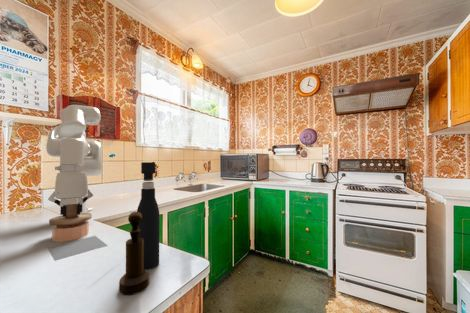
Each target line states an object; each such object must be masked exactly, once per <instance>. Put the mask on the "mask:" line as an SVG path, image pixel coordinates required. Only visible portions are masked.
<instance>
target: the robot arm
mask: <svg viewBox="0 0 470 313" xmlns="http://www.w3.org/2000/svg"><path fill="white" fill-rule="evenodd" d="M59 113H60V121H61V123H60V124H58V125H56V126H55V127H53V128H52V129H51V130H50V131H49V133H48V135H47V140H46V146H45V147H46V149H45V150H46V152H47V154H48V155H49V156H51V157H55V158H56V157H57V158H58V157H59V165H57V166H54V171H58V172H57V173H56V176H55V183H54V191H53V193H51V195H50V196H49V197H48V199H47V201H49V202H51V203H54V204H56V205H57V206H59V207H60V210H59V211H60V213H59V214H60V215H59V216H62V215H63V217H65V205H67V204H74V203H77V204H78V215H80V213H90V212H92V211H93V210H94V209H93V208H92V207H90V208H87V201H88V200H89V199H90V198H92V197H94V194H93V193H92V192H91V190H90V189H89V183H88V182H89V180H88V177H92V176H93V177H94V176H96V177H97V176H100V175H102V173H103V168H104V165H103V164H104V162H103V159H104V158H103V146H102V143H101V142H99V141H97V140H87V133H86V130H87V126H98V125H99V124H100V122H101V112H100V109H99V108H97V107H95V106H88V105H80V104H70V105H67V106H66V107H65V108H62V109H61V110H60V112H59Z"/></svg>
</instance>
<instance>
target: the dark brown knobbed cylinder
mask: <svg viewBox="0 0 470 313" xmlns="http://www.w3.org/2000/svg"><path fill="white" fill-rule="evenodd" d="M141 220H142V215H141V213H140V212H137V211H133V212H131V213H130V214H129V215H128V219H127V221H128V222H129V224H130V226H131V230H129V234H130V238H129V239H126V241H125V273H124V274H123V276H122V277H120V279H119V283H118V284H119V287H118V291H119V293H120V294H121V295H124V296H132V295H136V294H138V293H141V292H142V291H144V290H145V289H147V287H148V286H149V285H150V273H149V270H144V239H143V238H139V234H140V229H139V227H138V226H139V223H140V222H141Z"/></svg>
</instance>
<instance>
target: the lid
mask: <svg viewBox="0 0 470 313" xmlns="http://www.w3.org/2000/svg"><path fill="white" fill-rule="evenodd" d="M91 219H92V213H90V212H88V213H80V215H78V204H77V203H74V204H67V205H65V217H63V215H58V216H54V217H52V218H50V219H49V220H48V224H49V225H50V226H55V225H69V224H75V223H80V222H84V221H89V220H91Z"/></svg>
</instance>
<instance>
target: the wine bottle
mask: <svg viewBox="0 0 470 313" xmlns="http://www.w3.org/2000/svg"><path fill="white" fill-rule="evenodd" d="M140 166H141V167H140V168H141V170H140V174H143V181H144V182H142V184H141V185H142V186H141V187H142V188H141V190H140V193H141V194H140V197H141V198H140V201H139V204H138V206H137V208H136V209H137V211H136V212H140V213H141V215H142V220H141V222H140V223H139V226H138V227H139V229H140V234H139V238H143V239H144V270H146V271H149V270H152V269H155V268H156V267H157V266H158V265H159V264H160V215H161V214H160V209H159V204H158V203H157V202H158V201H157V198H156V188H155V183H154V174H156V162H150V161H149V162H146V161H144V162H141V165H140Z"/></svg>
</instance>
